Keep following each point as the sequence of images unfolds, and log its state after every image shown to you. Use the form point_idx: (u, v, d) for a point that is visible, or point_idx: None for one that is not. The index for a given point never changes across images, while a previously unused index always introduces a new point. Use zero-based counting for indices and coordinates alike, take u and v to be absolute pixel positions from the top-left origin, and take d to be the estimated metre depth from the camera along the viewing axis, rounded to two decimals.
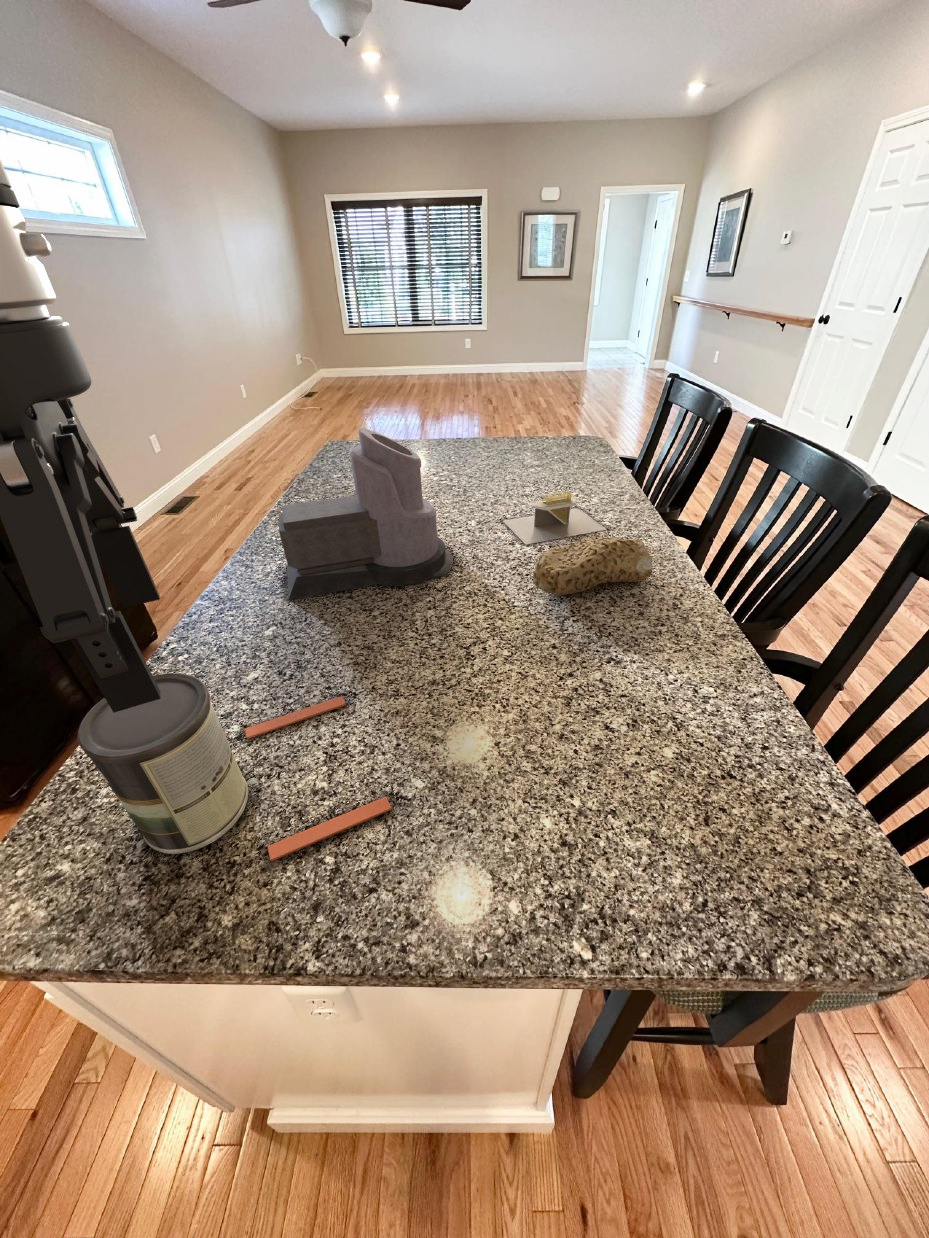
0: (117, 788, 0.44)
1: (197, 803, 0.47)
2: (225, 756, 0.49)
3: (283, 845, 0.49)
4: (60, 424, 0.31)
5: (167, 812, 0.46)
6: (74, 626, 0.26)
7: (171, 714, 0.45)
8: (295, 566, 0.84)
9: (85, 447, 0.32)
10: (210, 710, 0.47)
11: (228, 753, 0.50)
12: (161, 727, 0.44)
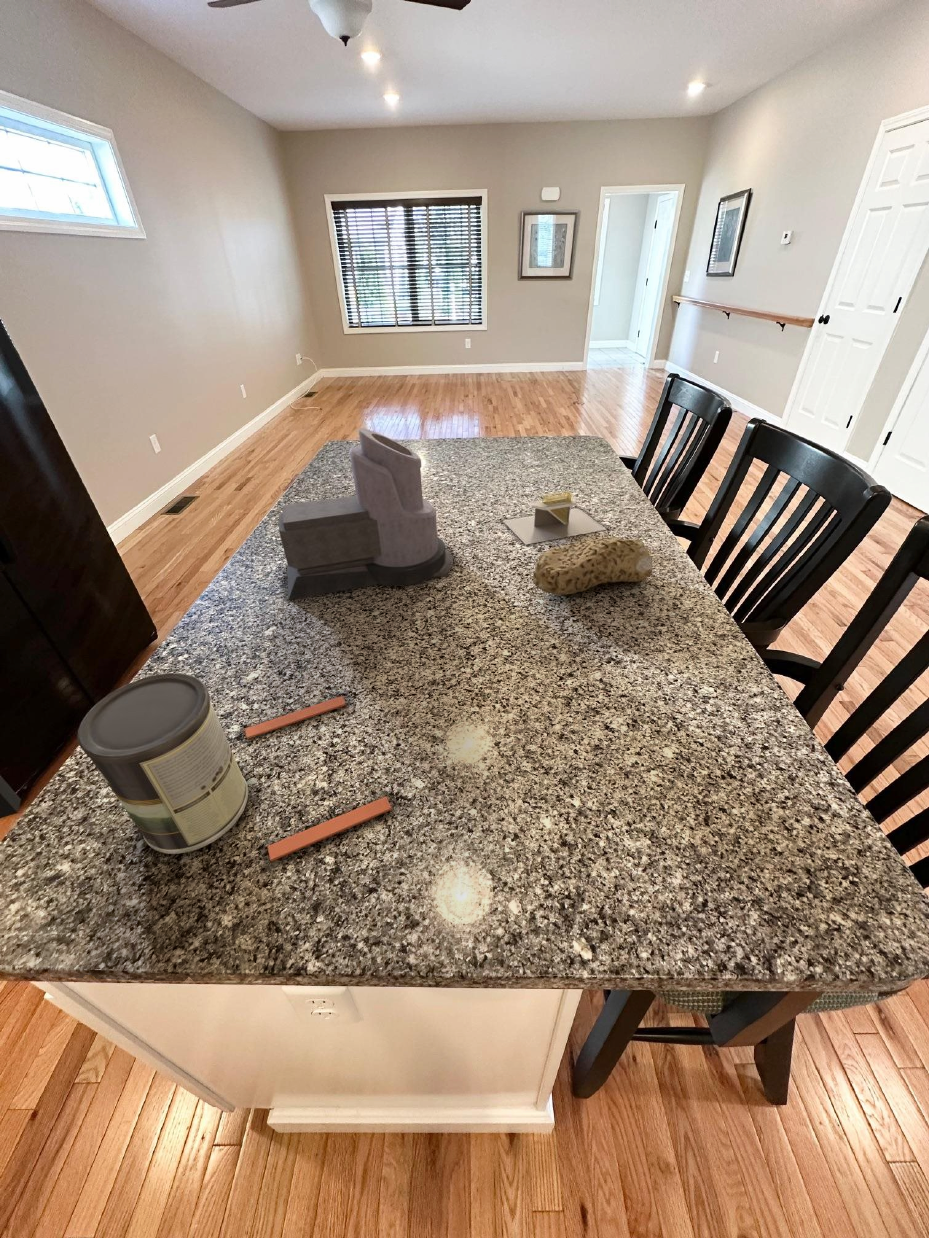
0: (117, 788, 0.44)
1: (197, 803, 0.47)
2: (225, 756, 0.49)
3: (283, 845, 0.49)
4: None
5: (167, 812, 0.46)
6: None
7: (171, 714, 0.45)
8: (295, 566, 0.84)
9: None
10: (210, 710, 0.47)
11: (228, 753, 0.50)
12: (161, 727, 0.44)
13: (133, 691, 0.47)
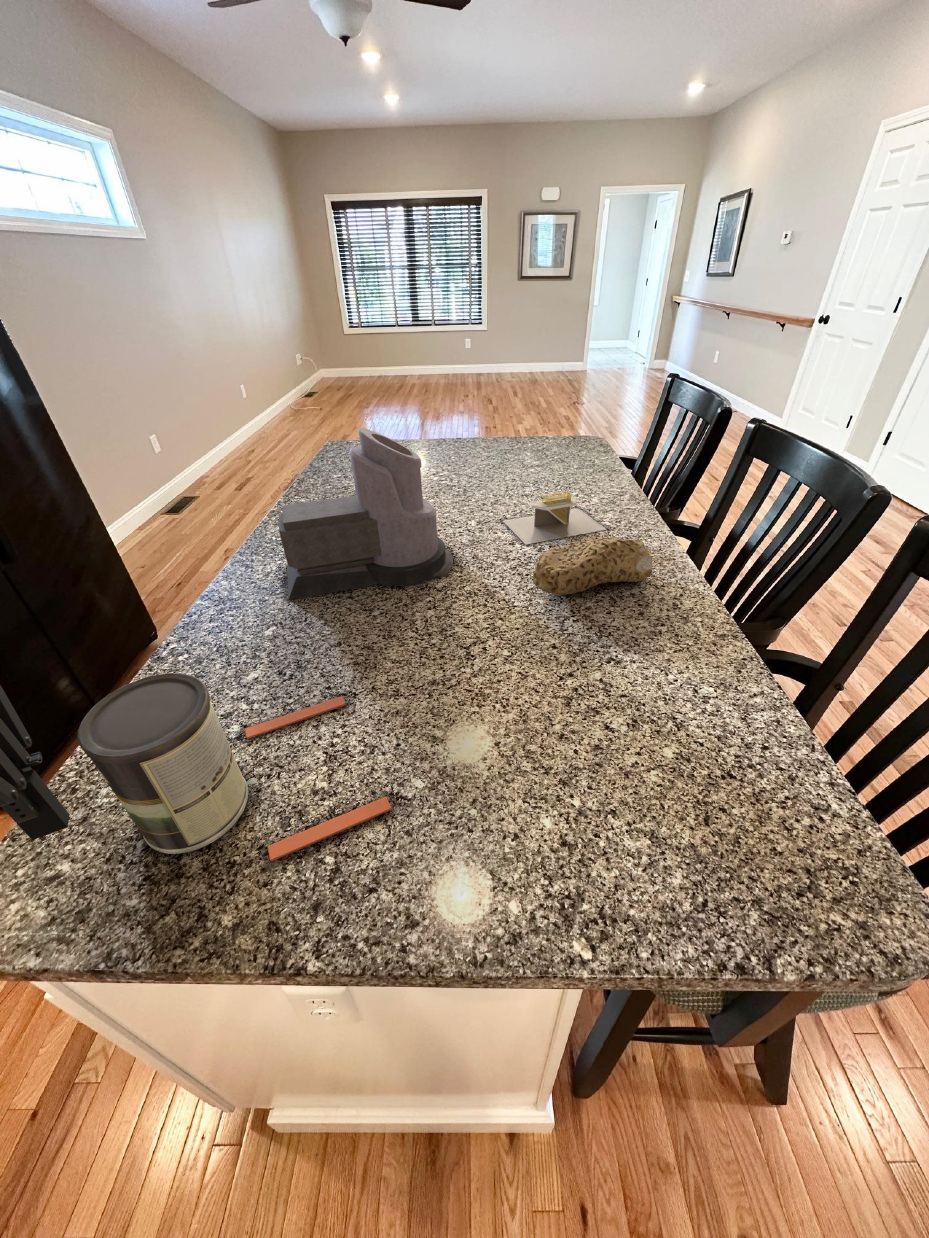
0: (117, 788, 0.44)
1: (197, 803, 0.47)
2: (225, 756, 0.49)
3: (283, 845, 0.49)
4: None
5: (167, 812, 0.46)
6: None
7: (171, 714, 0.45)
8: (295, 566, 0.84)
9: None
10: (210, 710, 0.47)
11: (228, 753, 0.50)
12: (161, 727, 0.44)
13: (133, 691, 0.47)
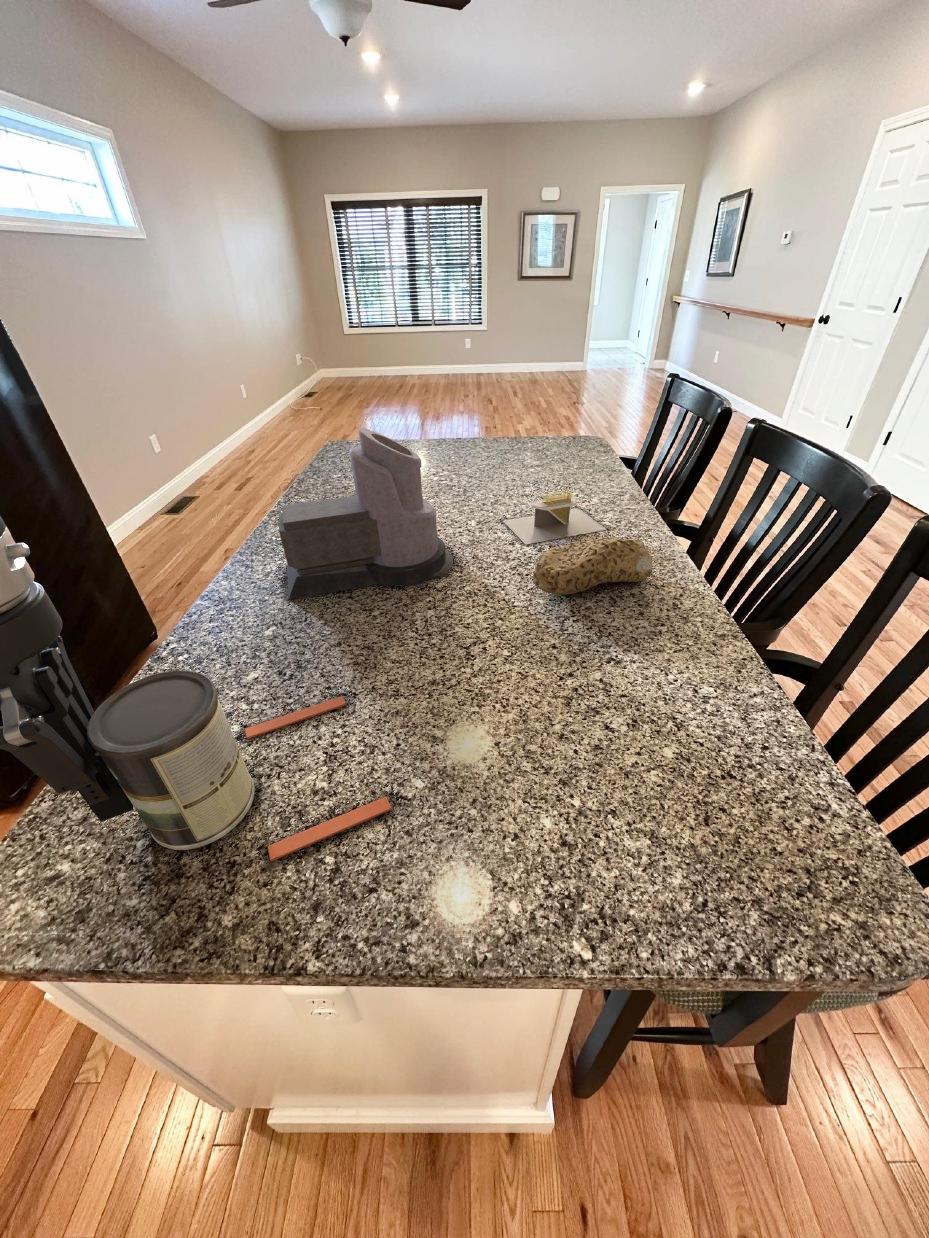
0: (127, 784, 0.44)
1: (206, 799, 0.47)
2: (232, 752, 0.49)
3: (283, 845, 0.49)
4: None
5: (176, 808, 0.46)
6: (76, 786, 0.41)
7: (180, 710, 0.45)
8: (295, 566, 0.84)
9: (56, 664, 0.40)
10: (218, 706, 0.47)
11: (235, 749, 0.50)
12: (170, 723, 0.44)
13: (140, 688, 0.48)
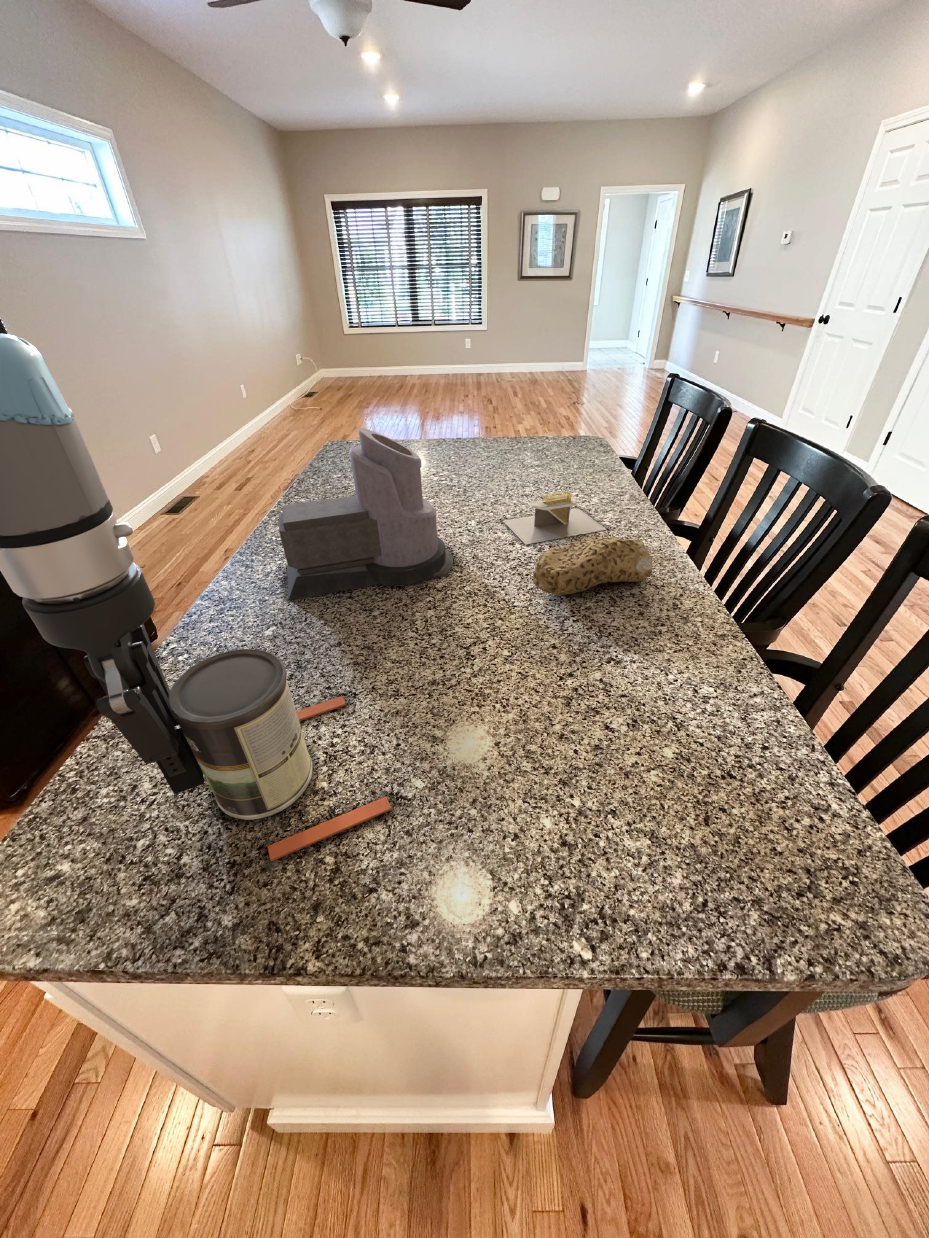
0: (208, 755, 0.46)
1: (278, 768, 0.50)
2: (297, 725, 0.52)
3: (283, 845, 0.49)
4: None
5: (252, 777, 0.48)
6: (161, 757, 0.44)
7: (254, 684, 0.48)
8: (295, 566, 0.84)
9: (145, 640, 0.42)
10: (286, 680, 0.50)
11: (298, 722, 0.53)
12: (248, 695, 0.47)
13: (210, 666, 0.50)
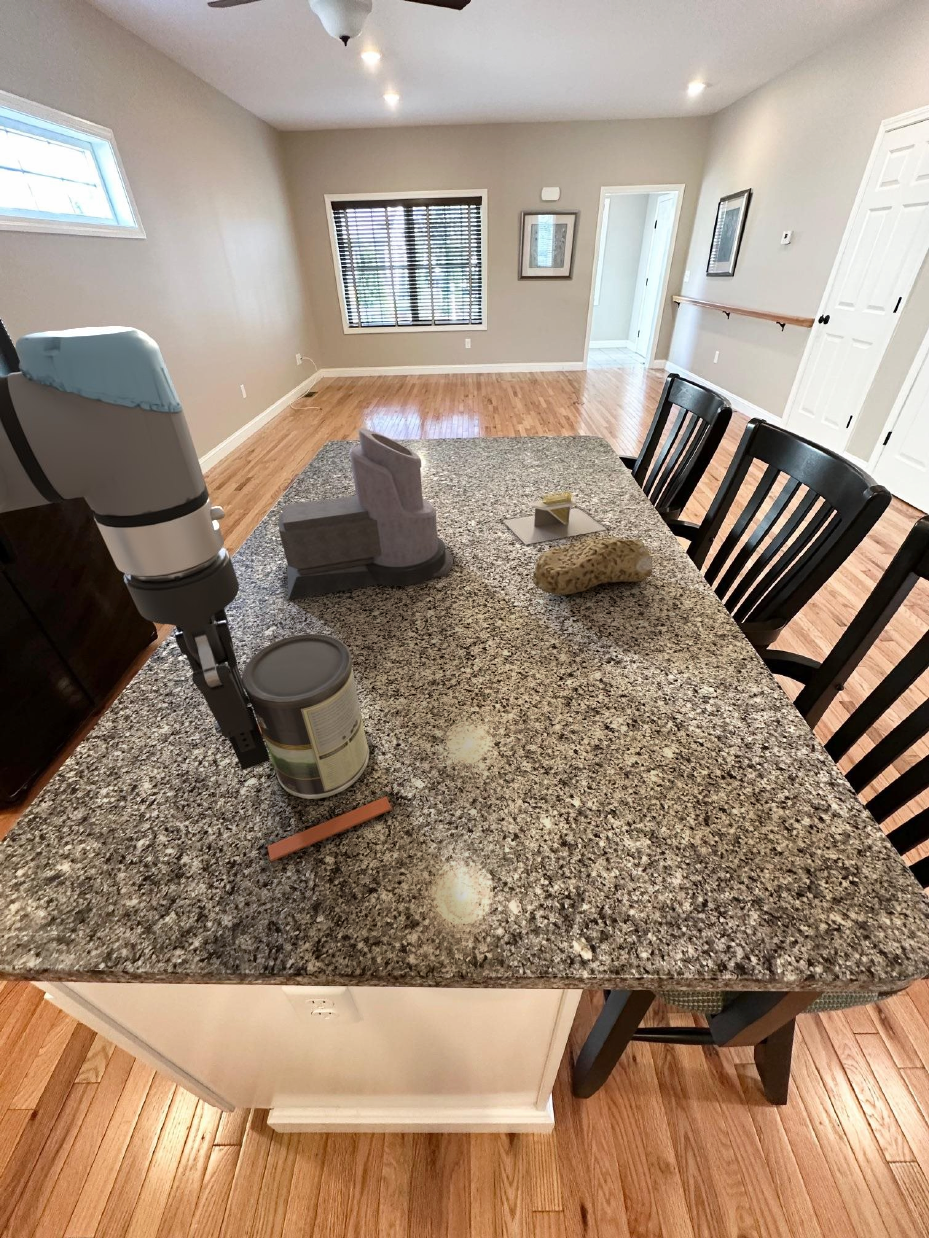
0: (274, 732, 0.48)
1: (337, 752, 0.51)
2: (358, 711, 0.54)
3: (283, 845, 0.49)
4: None
5: (313, 758, 0.50)
6: (239, 732, 0.46)
7: (322, 668, 0.49)
8: (295, 566, 0.84)
9: (226, 620, 0.45)
10: None
11: (359, 709, 0.54)
12: (315, 679, 0.48)
13: (281, 648, 0.52)
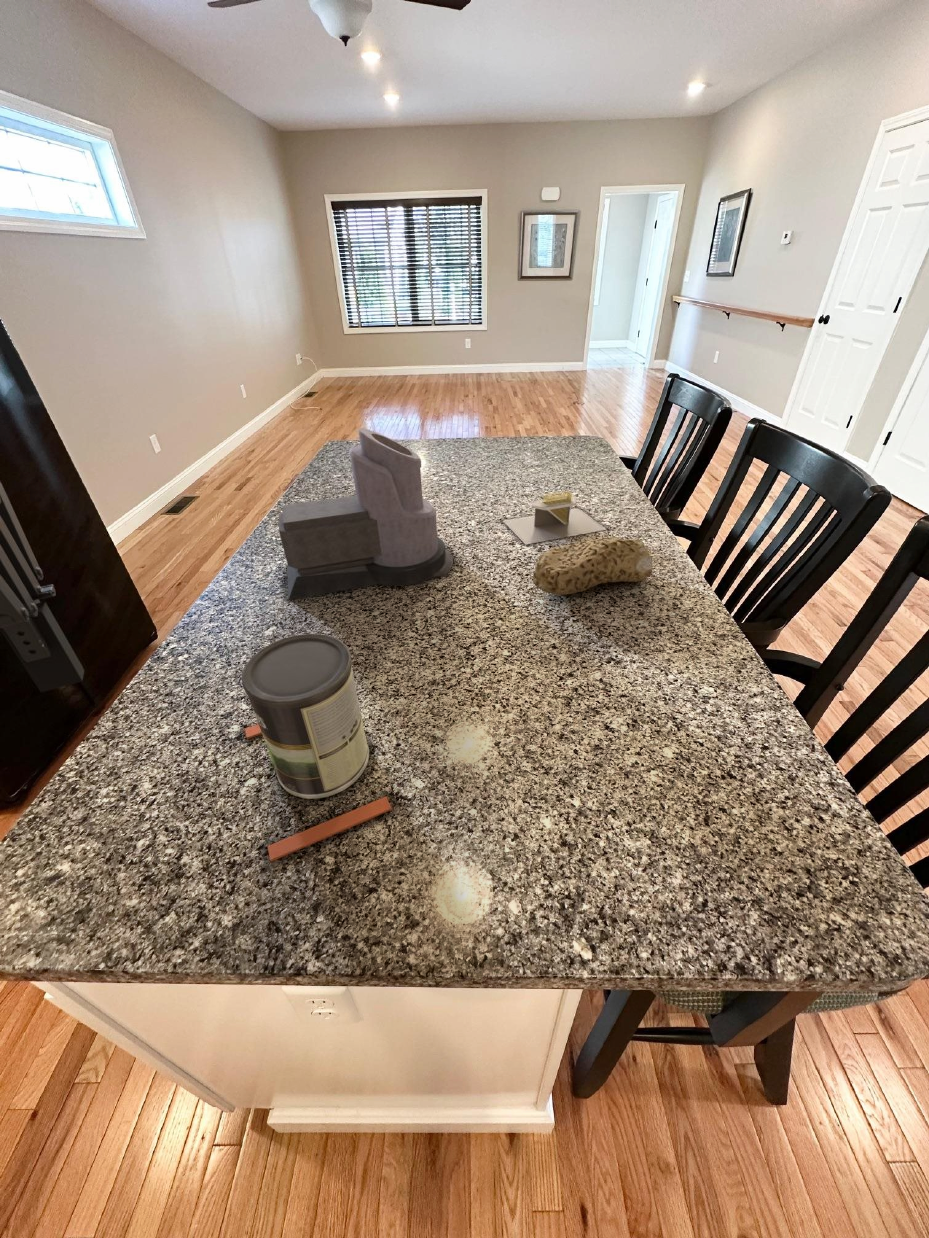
0: (274, 732, 0.48)
1: (337, 752, 0.51)
2: (358, 711, 0.54)
3: (283, 845, 0.49)
4: None
5: (313, 758, 0.50)
6: (1, 623, 0.33)
7: (321, 668, 0.49)
8: (295, 566, 0.84)
9: None
10: (351, 667, 0.51)
11: (359, 709, 0.54)
12: (315, 678, 0.48)
13: (281, 648, 0.52)
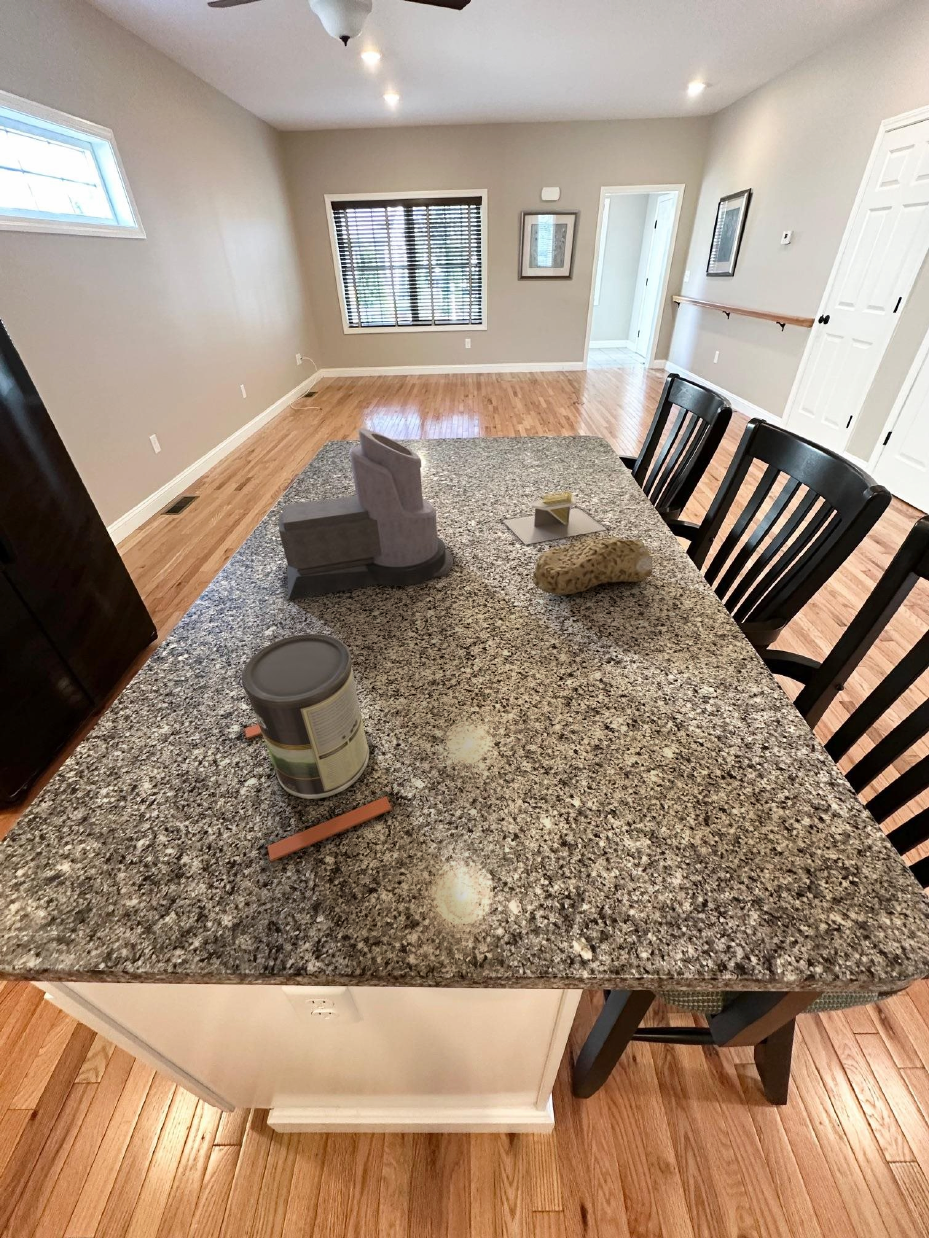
0: (274, 732, 0.48)
1: (337, 752, 0.51)
2: (358, 711, 0.54)
3: (283, 845, 0.49)
4: None
5: (313, 758, 0.50)
6: None
7: (321, 668, 0.49)
8: (295, 566, 0.84)
9: None
10: (351, 667, 0.51)
11: (359, 709, 0.54)
12: (315, 678, 0.48)
13: (281, 648, 0.52)
